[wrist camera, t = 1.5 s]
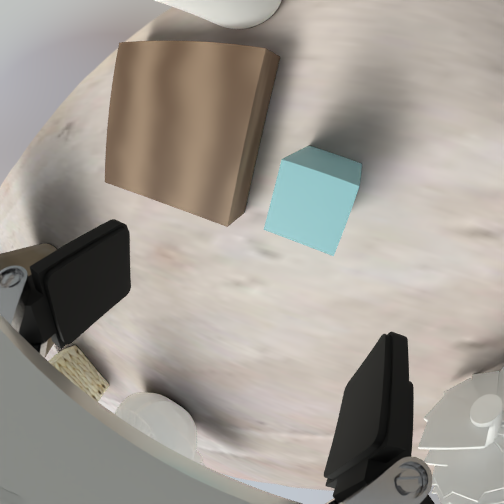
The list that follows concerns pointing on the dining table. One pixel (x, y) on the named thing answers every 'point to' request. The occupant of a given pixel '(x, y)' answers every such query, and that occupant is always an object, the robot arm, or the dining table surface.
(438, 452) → the spiral staircase
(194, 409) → the dining table surface
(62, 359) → the storage basket
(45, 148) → the dining table surface
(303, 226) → the teal carton
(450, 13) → the dining table surface
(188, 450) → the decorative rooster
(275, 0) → the pill bottle
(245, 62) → the wavy brown panel
